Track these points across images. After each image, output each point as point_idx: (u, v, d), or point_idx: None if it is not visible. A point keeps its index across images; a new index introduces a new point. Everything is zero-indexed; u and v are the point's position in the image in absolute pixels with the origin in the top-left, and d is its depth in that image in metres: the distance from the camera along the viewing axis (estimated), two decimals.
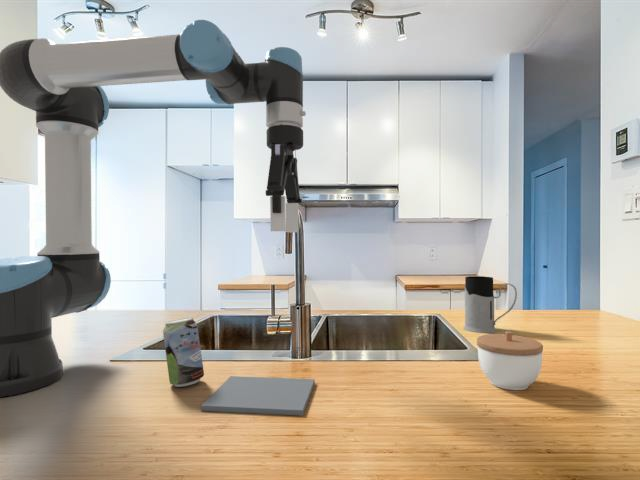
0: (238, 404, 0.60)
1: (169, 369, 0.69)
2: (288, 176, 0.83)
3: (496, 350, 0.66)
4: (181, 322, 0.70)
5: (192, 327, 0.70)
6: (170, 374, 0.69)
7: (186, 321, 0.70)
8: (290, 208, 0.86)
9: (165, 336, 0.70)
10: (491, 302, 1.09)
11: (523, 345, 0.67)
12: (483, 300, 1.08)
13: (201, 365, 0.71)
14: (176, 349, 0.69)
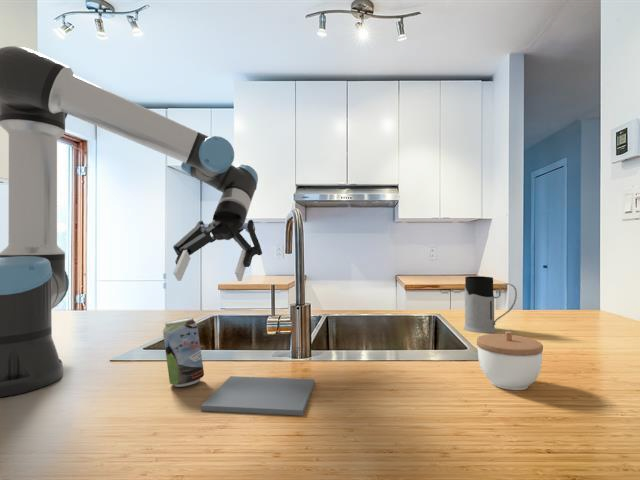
0: (238, 404, 0.60)
1: (169, 369, 0.69)
2: (210, 237, 0.91)
3: (496, 350, 0.66)
4: (181, 322, 0.70)
5: (192, 327, 0.70)
6: (170, 374, 0.69)
7: (186, 321, 0.70)
8: (186, 257, 0.86)
9: (165, 336, 0.70)
10: (491, 302, 1.09)
11: (523, 345, 0.67)
12: (483, 300, 1.08)
13: (201, 365, 0.71)
14: (176, 349, 0.69)
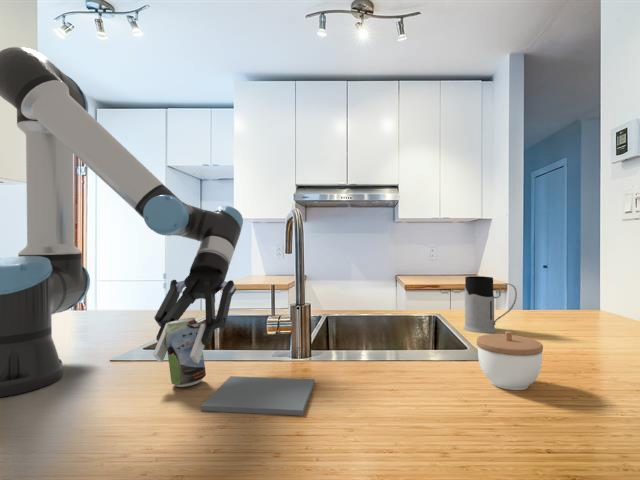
0: (238, 404, 0.60)
1: (171, 369, 0.69)
2: (190, 298, 0.79)
3: (496, 350, 0.66)
4: (183, 322, 0.70)
5: (194, 327, 0.70)
6: (172, 374, 0.69)
7: (188, 321, 0.70)
8: None
9: (167, 336, 0.69)
10: (491, 302, 1.09)
11: (523, 345, 0.67)
12: (483, 300, 1.08)
13: (203, 365, 0.71)
14: (178, 349, 0.68)
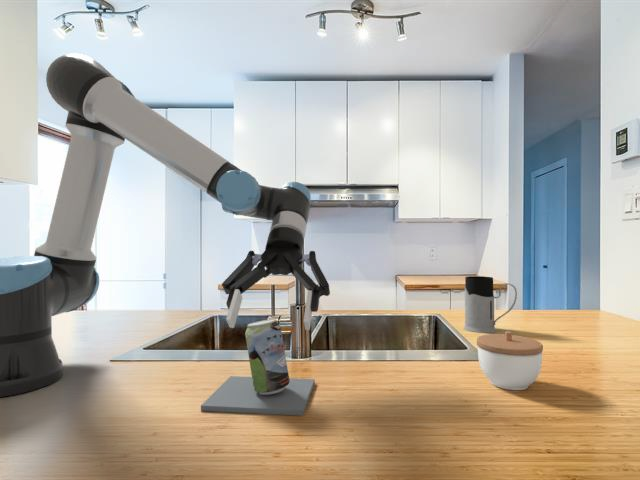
0: (238, 404, 0.60)
1: (255, 375, 0.63)
2: (264, 272, 0.76)
3: (496, 350, 0.66)
4: (266, 324, 0.64)
5: (277, 329, 0.64)
6: (256, 381, 0.63)
7: (271, 322, 0.64)
8: (238, 298, 0.71)
9: (249, 339, 0.63)
10: (491, 302, 1.09)
11: (523, 345, 0.67)
12: (483, 300, 1.08)
13: (287, 370, 0.65)
14: (263, 353, 0.63)
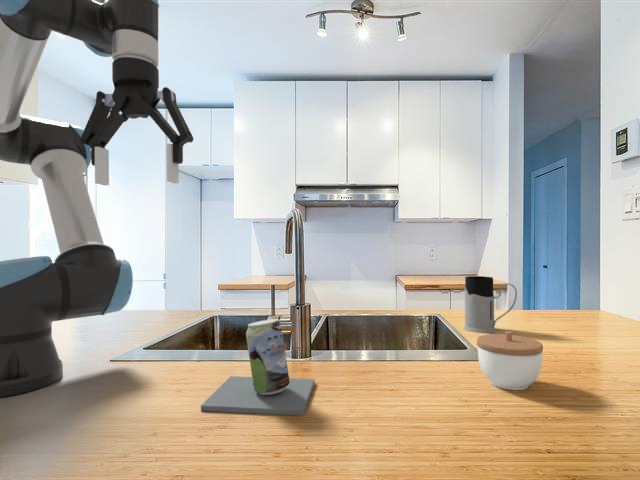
0: (238, 404, 0.60)
1: (255, 375, 0.63)
2: (121, 118, 0.70)
3: (496, 350, 0.66)
4: (267, 324, 0.64)
5: (278, 329, 0.64)
6: (256, 381, 0.63)
7: (272, 323, 0.64)
8: (102, 154, 0.70)
9: (250, 339, 0.63)
10: (491, 302, 1.09)
11: (523, 345, 0.67)
12: (483, 300, 1.08)
13: (287, 371, 0.65)
14: (264, 353, 0.63)
